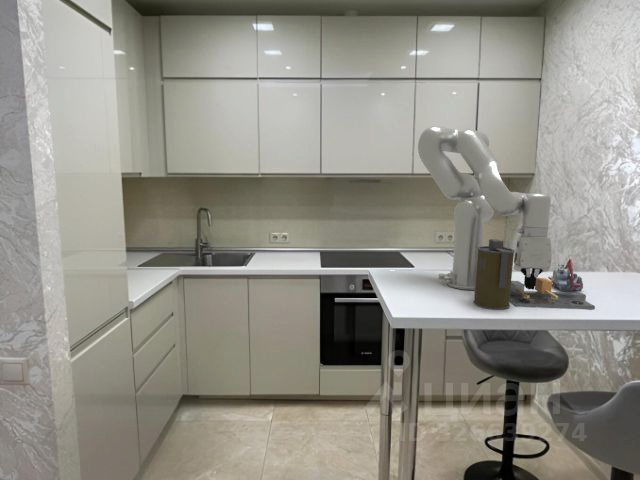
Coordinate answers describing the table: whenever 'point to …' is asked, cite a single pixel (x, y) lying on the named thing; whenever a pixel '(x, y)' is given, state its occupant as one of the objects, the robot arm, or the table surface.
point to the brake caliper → (566, 278)
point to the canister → (493, 275)
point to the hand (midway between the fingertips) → (529, 288)
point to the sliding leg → (545, 287)
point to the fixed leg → (518, 289)
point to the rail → (545, 296)
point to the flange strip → (551, 303)
